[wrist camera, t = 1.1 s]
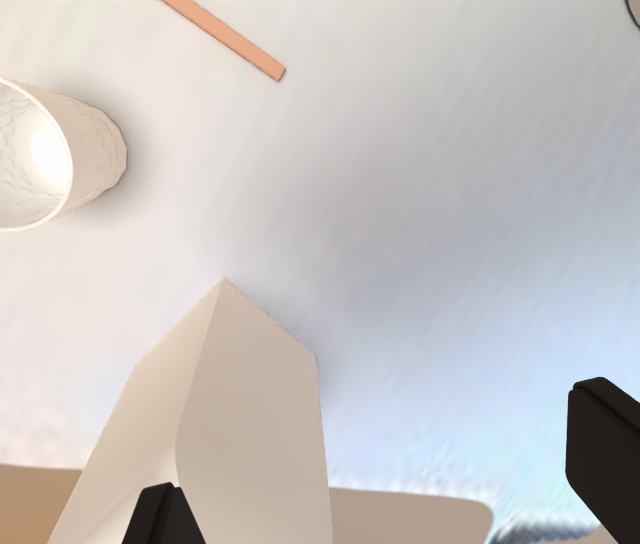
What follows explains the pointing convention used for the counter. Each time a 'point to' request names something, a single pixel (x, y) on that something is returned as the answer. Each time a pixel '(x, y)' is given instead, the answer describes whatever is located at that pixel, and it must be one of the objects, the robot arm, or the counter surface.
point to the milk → (214, 434)
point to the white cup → (52, 155)
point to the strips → (228, 36)
